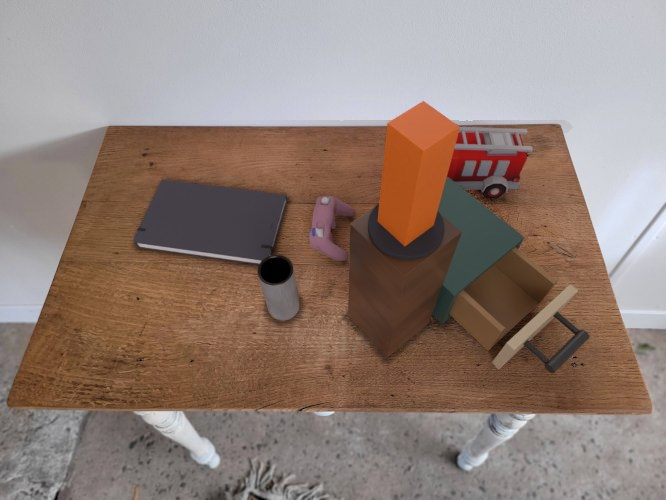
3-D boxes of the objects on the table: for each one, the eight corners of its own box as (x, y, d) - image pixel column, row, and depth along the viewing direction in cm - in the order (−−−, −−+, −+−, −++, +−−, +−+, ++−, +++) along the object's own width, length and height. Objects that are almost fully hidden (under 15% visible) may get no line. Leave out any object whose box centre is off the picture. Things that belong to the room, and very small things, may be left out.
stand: (429, 323, 67) (462, 231, 48) (386, 358, 64) (404, 276, 46) (389, 284, 70) (406, 185, 52) (347, 316, 68) (349, 223, 49)
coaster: (459, 231, 48) (460, 228, 48) (404, 273, 46) (405, 270, 45) (406, 187, 52) (407, 183, 51) (352, 224, 49) (352, 220, 49)
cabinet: (506, 270, 71) (525, 237, 64) (442, 324, 67) (454, 295, 60) (435, 210, 78) (444, 173, 70) (371, 256, 73) (374, 222, 66)
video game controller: (332, 215, 79) (311, 189, 74) (357, 210, 77) (337, 183, 72) (323, 267, 74) (299, 242, 69) (349, 263, 72) (327, 237, 67)
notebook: (287, 200, 79) (164, 185, 81) (286, 194, 78) (161, 179, 80) (268, 266, 72) (135, 247, 75) (267, 260, 71) (131, 241, 73)
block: (433, 225, 48) (460, 126, 37) (404, 247, 47) (423, 151, 36) (405, 201, 50) (423, 100, 39) (377, 221, 49) (387, 122, 38)
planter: (304, 314, 68) (298, 278, 59) (273, 325, 67) (262, 290, 59) (294, 288, 70) (287, 249, 62) (264, 297, 69) (253, 260, 61)
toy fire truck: (398, 159, 84) (404, 114, 75) (507, 158, 83) (525, 113, 75) (402, 200, 79) (409, 157, 70) (518, 199, 78) (539, 155, 70)
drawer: (587, 338, 64) (611, 316, 59) (528, 397, 60) (547, 380, 55) (483, 250, 72) (495, 223, 66) (424, 297, 68) (431, 273, 62)
